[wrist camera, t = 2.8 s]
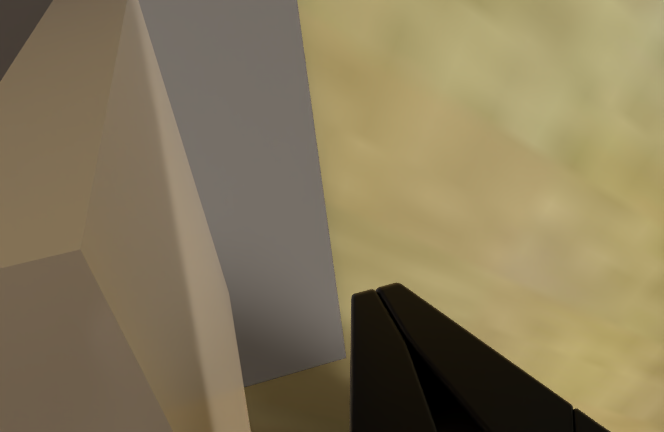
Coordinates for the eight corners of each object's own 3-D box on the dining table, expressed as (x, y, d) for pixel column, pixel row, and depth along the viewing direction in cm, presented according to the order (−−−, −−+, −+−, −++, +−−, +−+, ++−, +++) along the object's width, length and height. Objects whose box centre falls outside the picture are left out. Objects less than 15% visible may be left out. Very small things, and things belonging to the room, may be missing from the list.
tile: (229, 293, 16) (285, 651, 9) (179, 306, 16) (196, 683, 9) (131, -22, 11) (80, 249, 4) (53, -9, 10) (-164, 307, 3)
